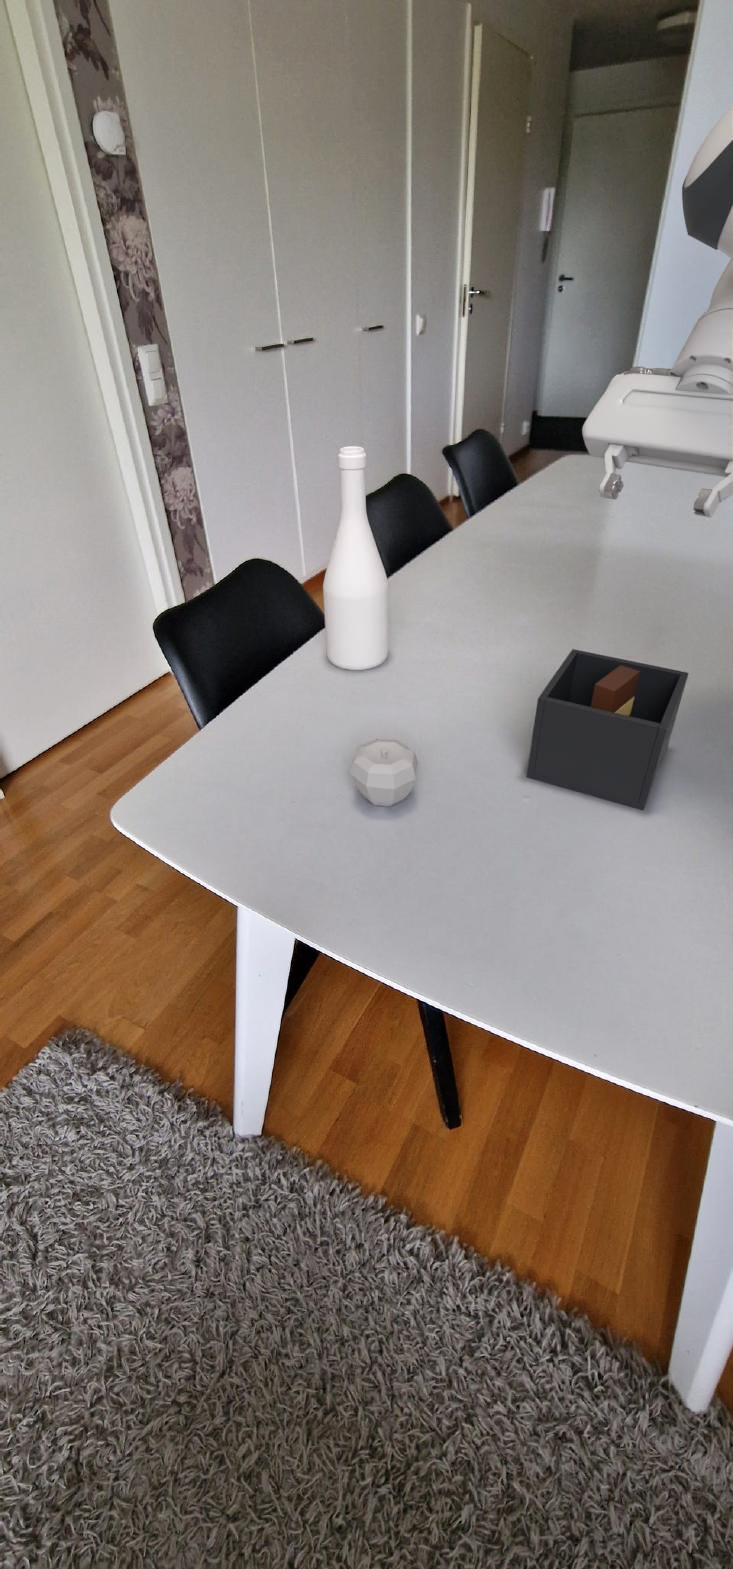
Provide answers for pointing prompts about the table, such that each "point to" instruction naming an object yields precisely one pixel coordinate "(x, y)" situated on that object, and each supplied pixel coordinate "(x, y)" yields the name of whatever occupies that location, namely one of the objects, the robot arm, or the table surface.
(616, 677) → the chocolate bar
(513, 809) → the table surface
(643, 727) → the waste bin
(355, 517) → the wine bottle
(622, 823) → the table surface
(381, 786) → the apple
